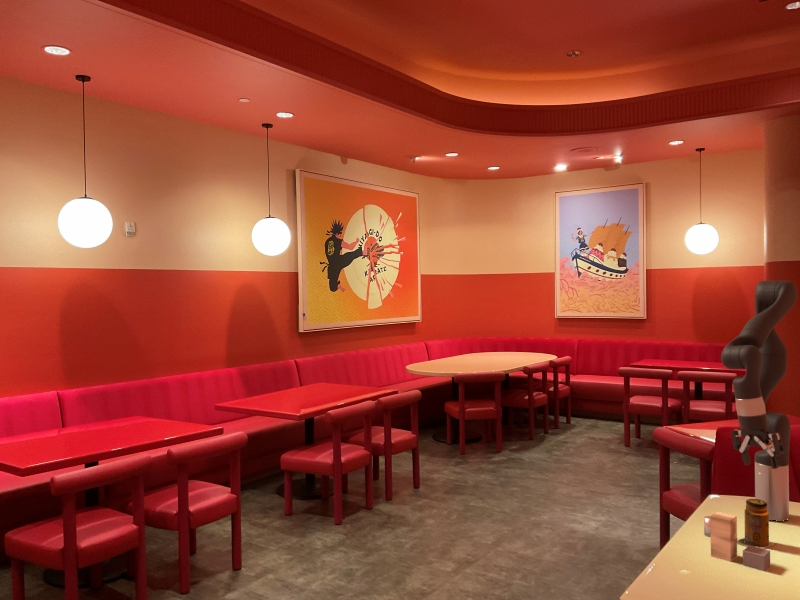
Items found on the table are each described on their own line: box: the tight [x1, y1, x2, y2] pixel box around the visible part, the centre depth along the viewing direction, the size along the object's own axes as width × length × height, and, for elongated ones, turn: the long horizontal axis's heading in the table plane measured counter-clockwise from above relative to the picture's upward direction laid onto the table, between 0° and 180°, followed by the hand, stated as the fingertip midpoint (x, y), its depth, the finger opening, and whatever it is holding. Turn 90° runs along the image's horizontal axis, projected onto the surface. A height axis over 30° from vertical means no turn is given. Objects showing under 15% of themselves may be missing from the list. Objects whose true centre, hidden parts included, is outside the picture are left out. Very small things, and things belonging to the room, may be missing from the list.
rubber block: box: [742, 545, 771, 572], centre depth 166 cm, size 5×5×4 cm
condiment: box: [737, 498, 776, 550], centre depth 180 cm, size 7×8×12 cm
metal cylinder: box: [703, 515, 711, 538], centre depth 187 cm, size 4×4×5 cm
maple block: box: [709, 511, 738, 563], centre depth 172 cm, size 5×5×11 cm
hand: (761, 466), depth 187 cm, fingers open, 8 cm apart
